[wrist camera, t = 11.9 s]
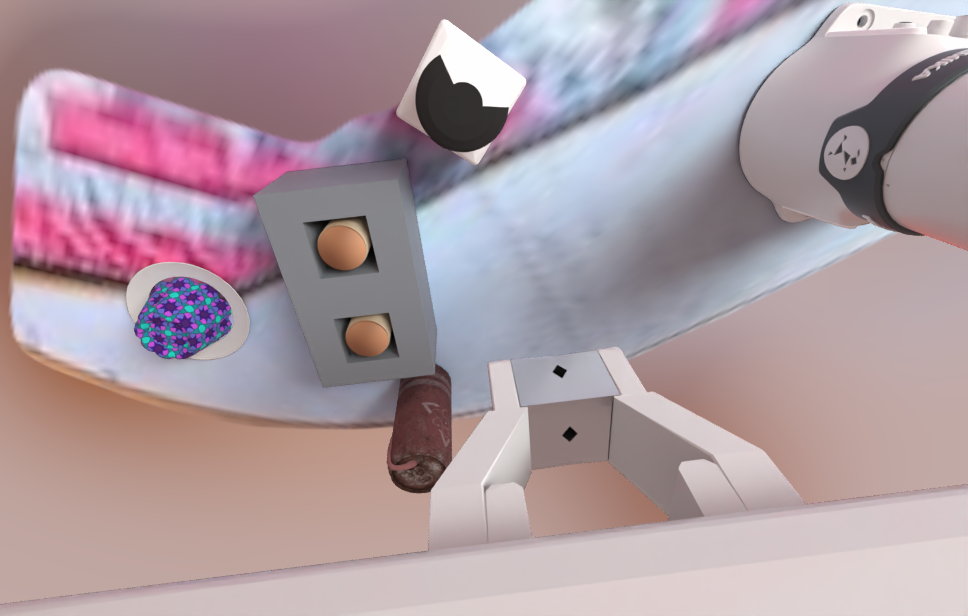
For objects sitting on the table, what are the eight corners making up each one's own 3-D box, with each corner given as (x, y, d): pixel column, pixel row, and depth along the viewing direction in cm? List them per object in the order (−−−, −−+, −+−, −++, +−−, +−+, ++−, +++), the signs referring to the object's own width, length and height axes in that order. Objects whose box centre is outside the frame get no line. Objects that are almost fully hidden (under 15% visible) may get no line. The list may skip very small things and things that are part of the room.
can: (403, 355, 51) (389, 448, 39) (456, 365, 52) (458, 458, 40) (394, 394, 54) (378, 492, 42) (444, 402, 55) (443, 499, 43)
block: (406, 158, 40) (397, 179, 33) (436, 330, 49) (434, 374, 43) (287, 171, 40) (253, 195, 33) (340, 341, 49) (323, 387, 42)
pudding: (123, 247, 43) (84, 269, 38) (253, 272, 45) (231, 296, 40) (137, 345, 48) (104, 375, 44) (252, 363, 50) (232, 394, 46)
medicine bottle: (472, 151, 40) (480, 183, 30) (402, 106, 38) (385, 123, 27) (515, 77, 37) (541, 84, 27) (443, 23, 35) (441, 9, 25)
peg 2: (393, 281, 45) (384, 318, 39) (400, 314, 47) (393, 354, 41) (355, 286, 45) (339, 324, 39) (364, 318, 47) (350, 359, 41)
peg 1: (374, 196, 41) (360, 222, 34) (383, 236, 43) (371, 268, 36) (332, 201, 41) (310, 228, 34) (343, 241, 43) (324, 273, 36)
